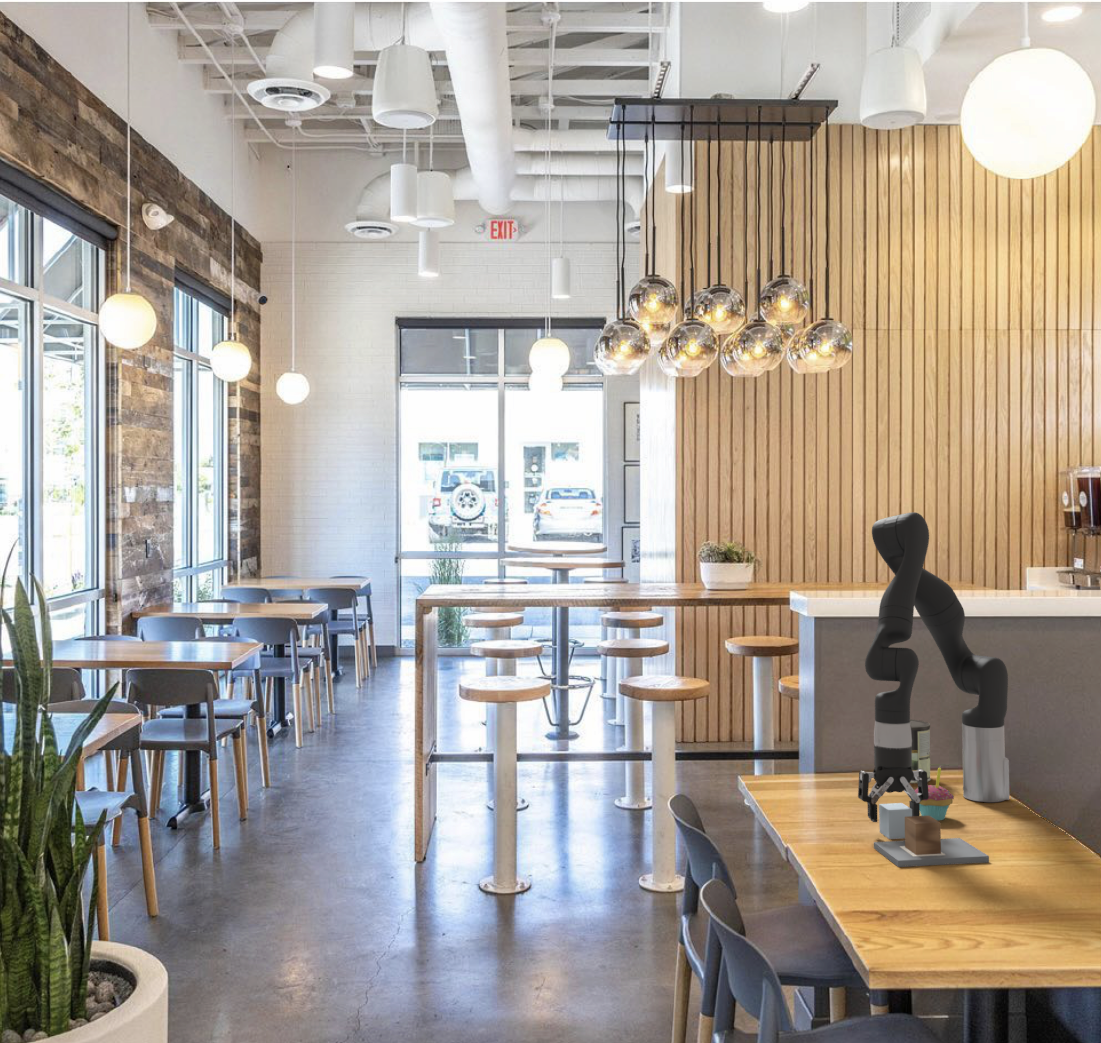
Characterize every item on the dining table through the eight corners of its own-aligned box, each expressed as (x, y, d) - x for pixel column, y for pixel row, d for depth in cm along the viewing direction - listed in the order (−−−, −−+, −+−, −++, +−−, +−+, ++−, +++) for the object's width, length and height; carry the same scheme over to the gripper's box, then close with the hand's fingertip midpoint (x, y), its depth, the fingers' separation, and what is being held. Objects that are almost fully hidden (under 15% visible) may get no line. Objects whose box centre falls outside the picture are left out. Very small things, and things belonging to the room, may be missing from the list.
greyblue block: (902, 831, 231) (901, 803, 231) (912, 838, 226) (911, 809, 226) (879, 832, 230) (879, 804, 230) (889, 839, 225) (888, 810, 225)
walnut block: (929, 846, 215) (929, 815, 215) (940, 853, 211) (940, 822, 211) (905, 847, 215) (904, 816, 215) (915, 854, 210) (915, 823, 210)
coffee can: (898, 784, 270) (897, 727, 270) (881, 774, 280) (880, 720, 280) (938, 782, 271) (937, 725, 271) (920, 773, 281) (919, 718, 281)
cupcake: (959, 817, 240) (958, 762, 240) (943, 825, 234) (942, 769, 234) (922, 810, 246) (921, 757, 246) (905, 818, 240) (904, 764, 240)
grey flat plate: (959, 843, 221) (959, 837, 221) (989, 862, 209) (988, 855, 209) (873, 848, 219) (873, 841, 219) (898, 867, 207) (898, 860, 207)
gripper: (918, 738, 232) (918, 814, 232) (853, 740, 231) (853, 817, 231) (933, 745, 225) (934, 824, 225) (866, 747, 224) (867, 826, 224)
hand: (893, 820), depth 228 cm, fingers open, 8 cm apart
